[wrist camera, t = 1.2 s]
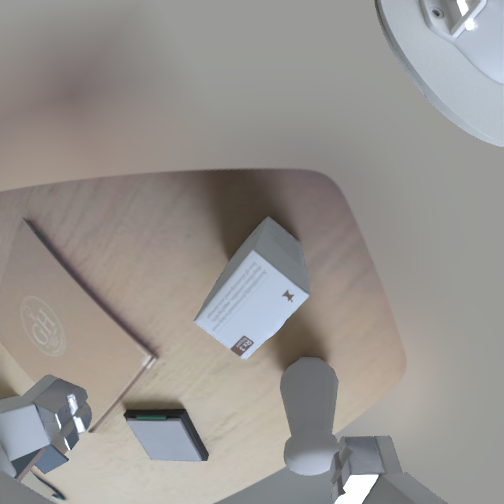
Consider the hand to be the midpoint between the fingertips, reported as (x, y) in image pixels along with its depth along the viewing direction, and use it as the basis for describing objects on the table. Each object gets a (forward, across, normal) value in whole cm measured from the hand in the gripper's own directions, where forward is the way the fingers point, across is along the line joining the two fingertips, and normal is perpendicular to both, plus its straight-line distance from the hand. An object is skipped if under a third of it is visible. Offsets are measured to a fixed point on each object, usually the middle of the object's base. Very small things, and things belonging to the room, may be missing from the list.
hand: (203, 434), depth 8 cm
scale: (+22, +10, +26) cm, 35 cm away
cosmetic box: (+22, 0, 0) cm, 22 cm away
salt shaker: (+22, -6, +12) cm, 26 cm away
